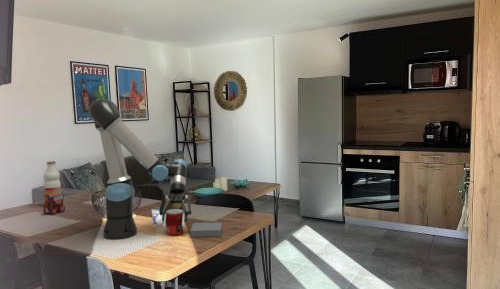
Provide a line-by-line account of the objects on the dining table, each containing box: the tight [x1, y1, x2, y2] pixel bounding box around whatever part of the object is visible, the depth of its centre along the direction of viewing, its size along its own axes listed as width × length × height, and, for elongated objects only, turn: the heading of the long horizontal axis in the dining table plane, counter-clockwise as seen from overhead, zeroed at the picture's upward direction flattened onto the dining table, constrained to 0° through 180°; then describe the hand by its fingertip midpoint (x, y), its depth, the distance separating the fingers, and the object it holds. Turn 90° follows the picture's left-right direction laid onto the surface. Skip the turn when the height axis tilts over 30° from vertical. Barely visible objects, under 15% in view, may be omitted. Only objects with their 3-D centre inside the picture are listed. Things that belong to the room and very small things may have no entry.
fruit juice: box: [43, 161, 62, 203], centre depth 231 cm, size 9×9×28 cm
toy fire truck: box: [42, 193, 66, 215], centre depth 214 cm, size 7×12×10 cm, turn 155°
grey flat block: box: [190, 222, 223, 238], centre depth 175 cm, size 14×12×3 cm
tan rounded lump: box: [165, 198, 185, 210], centre depth 220 cm, size 10×12×11 cm
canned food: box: [166, 208, 184, 237], centre depth 174 cm, size 8×8×11 cm
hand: (173, 227), depth 171 cm, fingers closed on canned food, 8 cm apart
